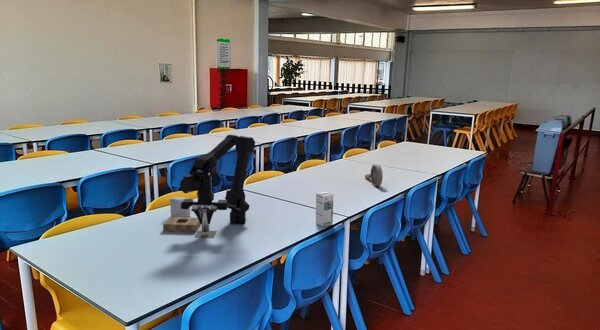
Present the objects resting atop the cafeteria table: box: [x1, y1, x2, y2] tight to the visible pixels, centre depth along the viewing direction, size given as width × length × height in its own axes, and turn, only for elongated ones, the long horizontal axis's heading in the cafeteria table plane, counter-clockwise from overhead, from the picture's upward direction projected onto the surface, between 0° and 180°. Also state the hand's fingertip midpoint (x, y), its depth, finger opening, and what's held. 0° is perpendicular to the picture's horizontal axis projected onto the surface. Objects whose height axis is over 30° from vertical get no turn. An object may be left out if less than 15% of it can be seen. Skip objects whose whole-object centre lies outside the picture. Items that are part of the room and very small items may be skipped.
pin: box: [200, 206, 210, 232], centre depth 183 cm, size 4×4×10 cm
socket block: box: [162, 216, 202, 233], centre depth 190 cm, size 14×9×4 cm, turn 90°
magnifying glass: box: [364, 164, 384, 187], centre depth 272 cm, size 13×3×25 cm
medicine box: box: [169, 196, 191, 218], centre depth 205 cm, size 8×4×9 cm, turn 74°
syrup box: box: [315, 191, 334, 227], centre depth 199 cm, size 6×6×14 cm
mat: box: [193, 229, 218, 239], centre depth 184 cm, size 8×8×1 cm
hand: (205, 223), depth 183 cm, fingers closed on pin, 3 cm apart
